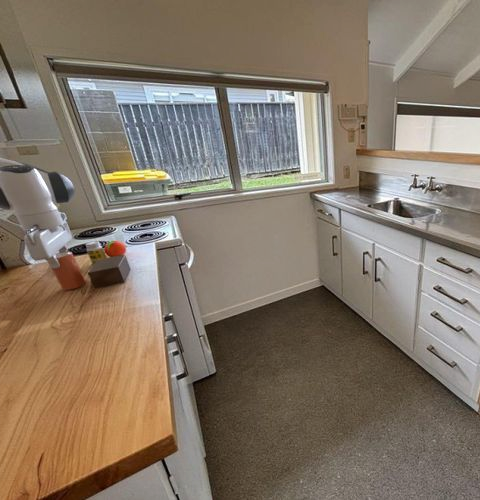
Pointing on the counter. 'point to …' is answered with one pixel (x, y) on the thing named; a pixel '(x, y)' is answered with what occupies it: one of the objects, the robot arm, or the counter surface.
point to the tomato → (114, 248)
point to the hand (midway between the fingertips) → (61, 262)
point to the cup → (68, 271)
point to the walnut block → (109, 271)
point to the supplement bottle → (95, 251)
